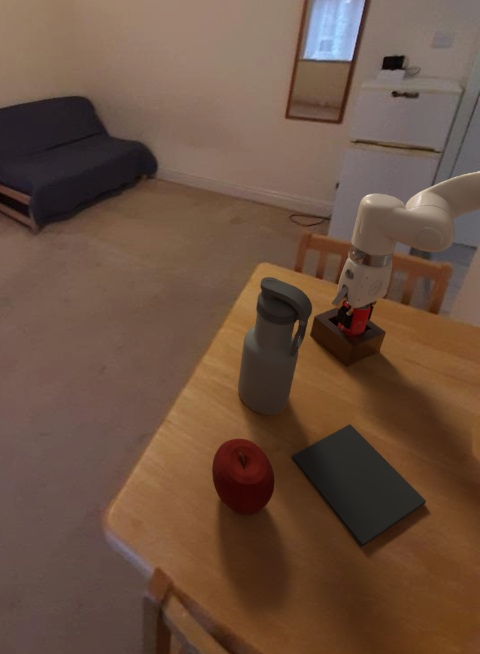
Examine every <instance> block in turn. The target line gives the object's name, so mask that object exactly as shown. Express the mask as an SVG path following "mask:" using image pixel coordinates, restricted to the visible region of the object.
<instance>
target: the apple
mask: <svg viewBox="0 0 480 654" xmlns="http://www.w3.org/2000/svg"><path fill="white" fill-rule="evenodd" d="M211 474H212V482H213V486H214V489H215V492H216V494H217V496H218V498H219V499H220V500H221V502H222V503H223V504H224V505H225V506H226V507H227V508H228V509H230V510H231V511H232V512H234V513H237V514H239V515H243V516H251V515H255V514H257V513H259V512H260V511H262V510H263V509H264V508H266V506H267V505H268V503H269V502H270V501H271V499H272V497H273V494H274V492H275V484H276V477H275V471H274V468H273V465H272V463H271V460H270V459H269V457H268V455H267V454H266V452H265V451H264V450H263V448H262V447H260V446H259V445H258V444H256V443H255V442H254V441H251V440H249V439H246V438H232V439H229V440H226V441H225V442H223V443H222V444H221V445H220V446H219V447H218V448H217V450H216V452H215V454H214V457H213V459H212V467H211Z"/></svg>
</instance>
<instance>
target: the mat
mask: <svg viewBox="0 0 480 654" xmlns="http://www.w3.org/2000/svg"><path fill="white" fill-rule="evenodd" d="M291 461H292V462H293V463H294V464H295V465H296V467H297V468H298V469H299V471H300V472H301V473H302V474H303V476H304V477H305V478H306V479H307V481H308V482H309V483H310V485H311V486H312V487H313V489H314V490H315V491H316V492H317V493H318V495H319V496H320V497H321V499H322V500H323V501H324V503H326V505H327V506H328V508H329V509H330V510H331V511H332V513H333V514H334V516H336V518H337V519H338V521H339V522H340V523H341V524H342V526H343V527H344V529H346V530H347V532H348V533H349V534H350V535H351V537H352V538H353V540H354V541H355V542H356V543H357V544H358V546H359V547H360V548H362V549H363V548H364V547H366V545H368V544H369V543H371V542H372V541H374V540H375V539H377V538H378V537H380V536H381V535H383V534H384V533H385V532H387V531H388V530H390V529H391V528H392V527H394V526H396V525H397V524H398V523H400V522H402V521H403V520H404V519H406V518H407V517H408V516H410V515H412V514H413V513H415V512H416V511H417V510H419V509H420V508H421V507H423V506H424V505H425V504H426V503H427V500H426V499H425V498H424V497H423V496H422V495H421V494H420V493H419V492H418V491H417V490H416V489H415V488H414V487H413V486H412V485H411V484H410V483H409V482H408V481H407V480H406V479H405V477H403V476H402V475H401V473H399V472H398V471H397V470H396V469H395V468H394V467H393V466H392V465H391V463H389V462H388V461H387V460H386V459H385V458H384V457H383V455H381V453H379V451H378V450H376V448H375V447H374V446H373V445H372V444H371V443H370V442H369V441H368V440H367V439H366V438H365V437H363V435H361V433H360V432H359V431H358V430H357V429H356V428H355V427H354V426H353V425H351V424H350V423H349V424H348V425H346V426H344V427H342V428H340V429H338V430H337V431H335V432H332V433H331V434H329V435H327V436H326V437H324V438H322V439H320V440H318V441H316V442H314V443H312V444H310V445H309V446H307V447H304V448H303V449H301V450H298V452H296V453H294V454H292V456H291Z"/></svg>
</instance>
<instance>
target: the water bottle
mask: <svg viewBox="0 0 480 654" xmlns="http://www.w3.org/2000/svg"><path fill="white" fill-rule="evenodd" d="M259 286H260V292H259V293H258V295H257V299H256V300H257V301H256V306H255V310H256V311H255V313H256V317H255V324H254V325H253V326H252V327H250V328H249V329H248V330H247V331H246V333H245V335H244V338H243V344H242V352H241V358H240V359H241V360H240V368H239V373H238V375H239V376H238V383H237V391H238V395H239V397H240V399H241V400H242V402H243V403H244V405H246V407H248V408H249V409H250V410H252V411H253V412H256V413H258V414H260V415H266V416H270V415H272V416H273V415H277V414H279V413H281V412H283V411H284V410H285V409H286V407H287V406H288V402H289V399H290V394H291V389H292V384H293V381H294V376H295V371H296V367H297V362H298V359H299V358H298V357H299V350H300V347H301V346H302V344H303V341H304V339H305V336H306V331H307V328H308V323H309V319H310V317H311V315H312V312H313V304H312V302H311V299H310V298H309V297H308V295H307V294H306V293H305V292H304V291H303V290H302V289H300V288H298V287H297V286H295V285H293V284H290V283H288V282H285V281H282V280H280V279H278V278H275V277H272V276H266V277H263V278H262V279H261V280H260V285H259ZM297 321H298V326H297V331H296V332H295V334H294V336H293V333H294V328H295V324H296V323H297Z"/></svg>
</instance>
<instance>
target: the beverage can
mask: <svg viewBox="0 0 480 654" xmlns="http://www.w3.org/2000/svg"><path fill="white" fill-rule="evenodd" d="M344 305H345V306H346V307H347V308H349V306H350V305H349V303H348V302H345V304H344ZM370 309H371V308H370V303H369V304H367V305H364V306H362V307H359V308H354V310H353V312H352V314H353V315H354V316H353V320H352V323H351V327H350V328H349V329H347V328H345V327H344V326H343V325H342V324H340V323H338V328H339V329H341V330H342V331H343V332H344V333H346V334H347V335H348V336H349V337H351V338H352V337H355V336H357V335H359V334H361V333H364V331H365V327H366V324H367V320H368V316H369V313H370Z"/></svg>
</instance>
